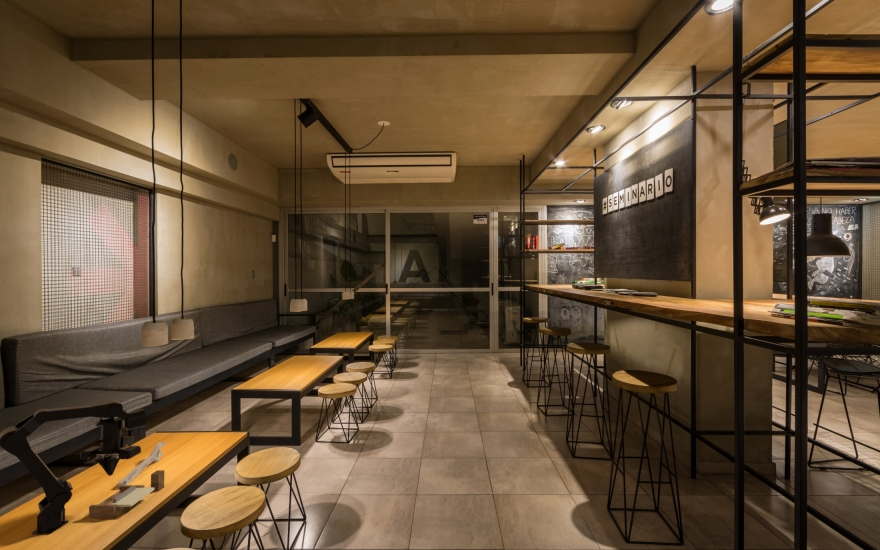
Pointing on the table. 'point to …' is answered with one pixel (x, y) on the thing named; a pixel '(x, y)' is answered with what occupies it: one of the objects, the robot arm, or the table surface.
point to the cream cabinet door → (131, 496)
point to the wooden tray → (109, 506)
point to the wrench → (143, 464)
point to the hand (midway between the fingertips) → (110, 475)
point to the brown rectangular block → (157, 480)
